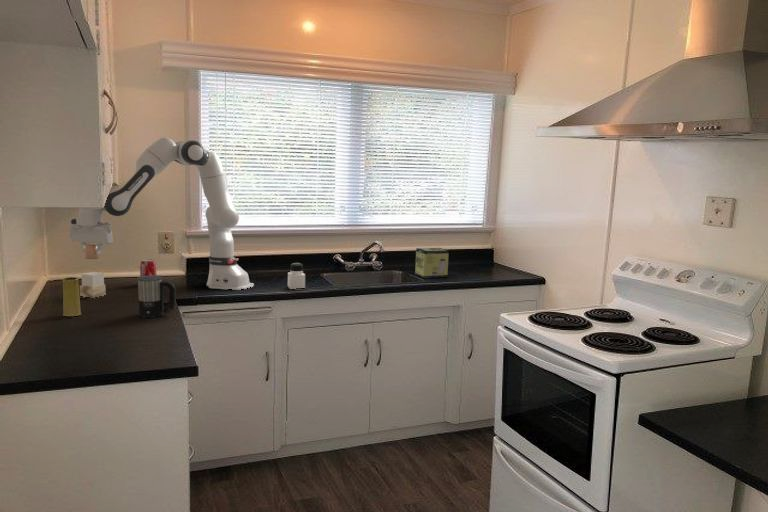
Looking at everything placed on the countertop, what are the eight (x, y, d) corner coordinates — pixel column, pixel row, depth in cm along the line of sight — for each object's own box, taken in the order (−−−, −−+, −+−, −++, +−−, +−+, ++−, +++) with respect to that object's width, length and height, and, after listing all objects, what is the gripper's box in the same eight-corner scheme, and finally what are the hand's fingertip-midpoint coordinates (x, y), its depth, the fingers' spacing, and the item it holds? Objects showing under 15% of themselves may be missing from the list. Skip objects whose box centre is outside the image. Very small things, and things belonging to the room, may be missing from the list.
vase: (64, 314, 224) (62, 277, 222) (82, 313, 226) (80, 276, 224) (61, 318, 218) (60, 280, 216) (80, 317, 221) (78, 279, 218)
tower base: (105, 295, 256) (105, 284, 256) (92, 298, 250) (92, 287, 249) (93, 294, 259) (92, 282, 258) (80, 297, 252) (79, 285, 251)
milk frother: (138, 319, 222) (137, 280, 220) (136, 309, 236) (135, 272, 234) (178, 316, 228) (177, 278, 226) (174, 306, 242) (173, 271, 240)
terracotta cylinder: (101, 258, 253) (100, 244, 252) (91, 259, 249) (91, 245, 248) (92, 257, 255) (91, 243, 254) (82, 258, 250) (82, 244, 249)
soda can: (137, 285, 279) (136, 260, 277) (149, 282, 285) (148, 258, 283) (147, 287, 275) (147, 261, 274) (159, 284, 282) (159, 259, 280)
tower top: (104, 284, 255) (103, 273, 254) (92, 287, 250) (92, 275, 249) (93, 283, 257) (92, 271, 256) (81, 285, 252) (81, 274, 251)
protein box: (414, 275, 333) (415, 248, 330) (438, 274, 339) (440, 247, 336) (423, 278, 323) (424, 250, 321) (447, 277, 329) (449, 250, 327)
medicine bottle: (305, 289, 285) (305, 264, 283) (290, 289, 282) (291, 265, 280) (301, 286, 291) (302, 262, 290) (287, 286, 289) (287, 262, 287)
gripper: (116, 222, 249) (117, 254, 251) (78, 218, 256) (79, 250, 258) (104, 223, 243) (105, 256, 245) (66, 219, 250) (67, 252, 252)
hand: (91, 253), depth 251 cm, fingers closed on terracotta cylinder, 5 cm apart
